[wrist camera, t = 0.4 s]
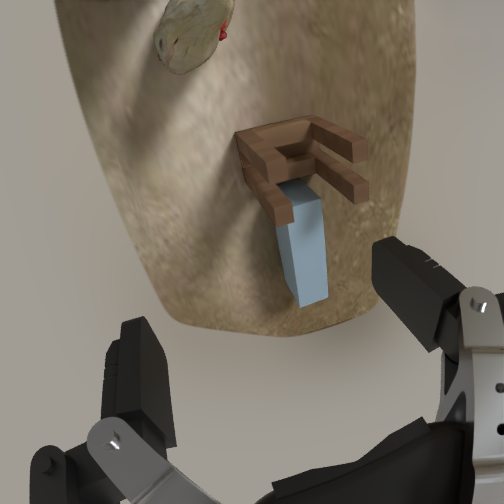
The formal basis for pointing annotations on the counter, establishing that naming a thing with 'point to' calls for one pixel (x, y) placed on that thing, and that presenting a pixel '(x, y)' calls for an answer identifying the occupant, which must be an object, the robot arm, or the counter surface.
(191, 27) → the chocolate bunny
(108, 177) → the counter surface
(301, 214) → the rail
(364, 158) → the wooden stool base
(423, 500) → the robot arm
